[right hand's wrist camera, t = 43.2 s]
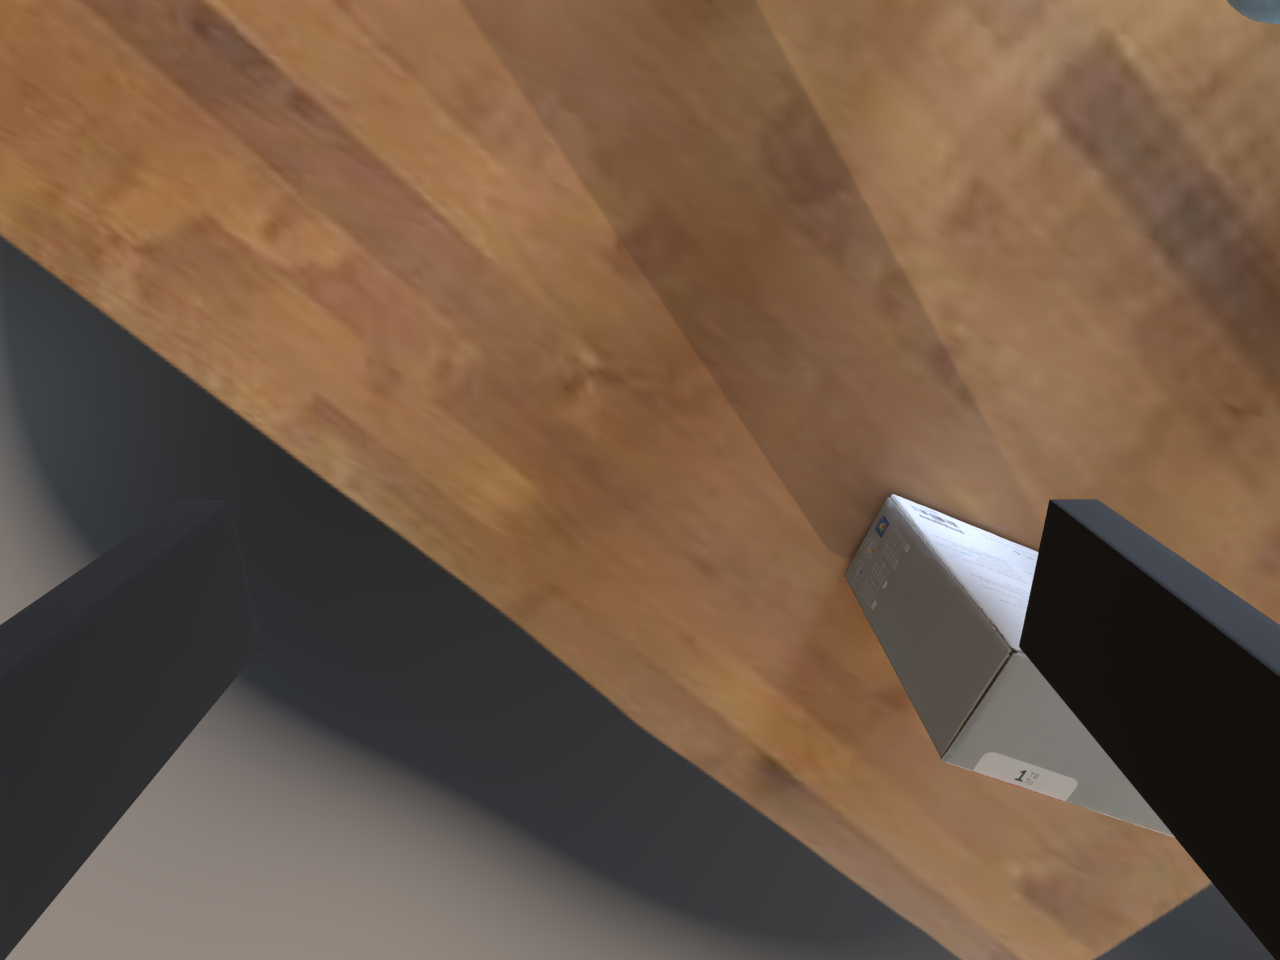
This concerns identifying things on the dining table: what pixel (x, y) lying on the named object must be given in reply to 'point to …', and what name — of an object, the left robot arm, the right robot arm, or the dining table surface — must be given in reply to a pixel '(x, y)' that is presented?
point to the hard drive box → (979, 658)
